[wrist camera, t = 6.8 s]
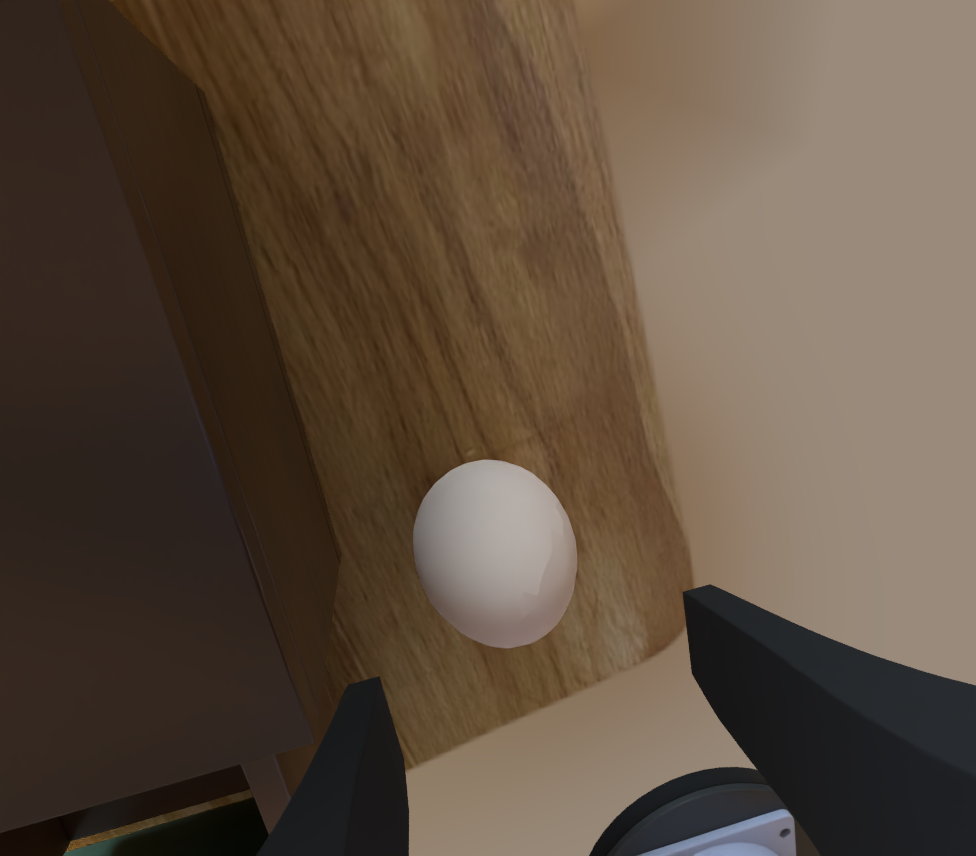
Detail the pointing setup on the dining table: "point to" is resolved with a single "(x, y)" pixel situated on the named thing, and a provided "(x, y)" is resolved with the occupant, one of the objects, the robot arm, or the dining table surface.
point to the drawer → (193, 839)
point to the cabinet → (140, 438)
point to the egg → (495, 553)
